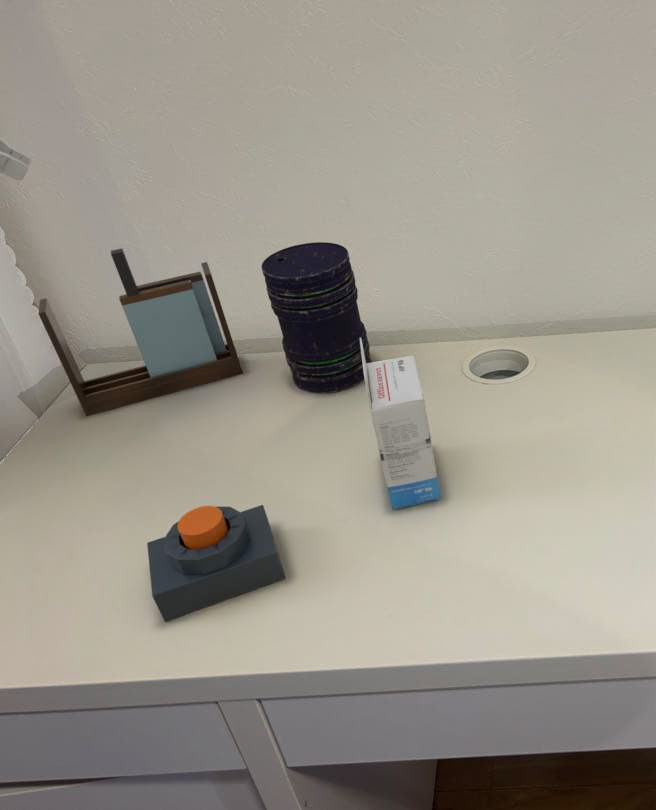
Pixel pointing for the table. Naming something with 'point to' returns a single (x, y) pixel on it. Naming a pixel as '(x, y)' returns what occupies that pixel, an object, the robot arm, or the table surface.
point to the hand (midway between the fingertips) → (27, 170)
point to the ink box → (401, 430)
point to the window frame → (137, 380)
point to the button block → (214, 564)
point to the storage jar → (318, 315)
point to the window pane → (164, 323)
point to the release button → (202, 527)
